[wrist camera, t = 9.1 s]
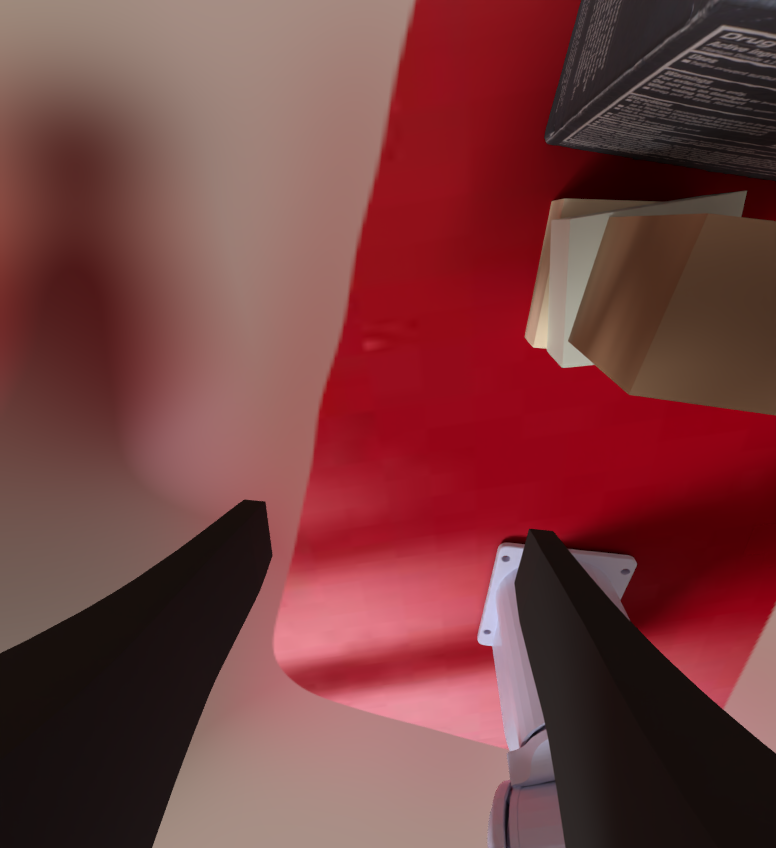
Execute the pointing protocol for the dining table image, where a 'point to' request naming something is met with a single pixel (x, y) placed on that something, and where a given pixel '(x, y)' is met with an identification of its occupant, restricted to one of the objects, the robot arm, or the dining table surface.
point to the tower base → (540, 300)
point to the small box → (672, 84)
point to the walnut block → (684, 309)
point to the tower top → (578, 251)
